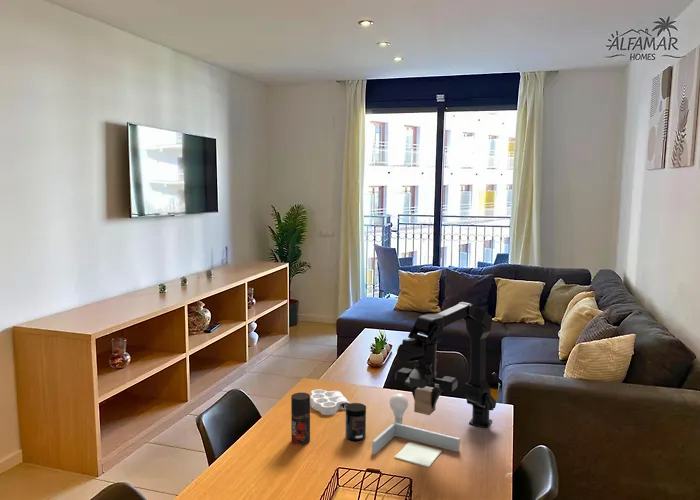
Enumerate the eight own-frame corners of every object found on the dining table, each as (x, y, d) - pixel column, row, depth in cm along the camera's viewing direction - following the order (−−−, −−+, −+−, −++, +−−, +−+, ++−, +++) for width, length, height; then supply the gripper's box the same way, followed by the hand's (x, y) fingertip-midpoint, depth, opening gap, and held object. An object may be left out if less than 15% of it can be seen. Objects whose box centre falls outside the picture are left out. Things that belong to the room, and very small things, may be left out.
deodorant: (313, 439, 168) (313, 394, 167) (304, 446, 163) (304, 400, 161) (297, 435, 171) (297, 391, 169) (288, 443, 165) (287, 397, 164)
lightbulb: (406, 429, 175) (407, 398, 174) (388, 427, 177) (388, 396, 175) (408, 421, 182) (409, 391, 180) (390, 420, 183) (390, 389, 182)
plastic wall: (393, 433, 172) (393, 422, 172) (459, 450, 161) (459, 438, 161) (372, 453, 159) (372, 441, 159) (442, 473, 148) (442, 460, 147)
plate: (409, 443, 166) (409, 441, 166) (441, 451, 160) (441, 450, 160) (394, 458, 156) (394, 456, 156) (428, 467, 151) (428, 466, 151)
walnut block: (420, 406, 165) (421, 385, 164) (435, 409, 162) (436, 388, 162) (414, 411, 161) (414, 389, 160) (429, 415, 158) (430, 393, 158)
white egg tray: (353, 412, 190) (315, 418, 185) (338, 394, 207) (302, 399, 202) (353, 403, 190) (315, 409, 185) (338, 386, 206) (302, 391, 201)
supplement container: (359, 431, 174) (360, 401, 173) (369, 440, 168) (370, 409, 167) (341, 435, 171) (341, 405, 170) (351, 444, 165) (351, 412, 164)
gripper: (388, 358, 158) (386, 408, 159) (446, 369, 148) (444, 422, 150) (403, 349, 167) (401, 396, 169) (459, 359, 158) (457, 409, 159)
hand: (424, 406), depth 161 cm, fingers closed on walnut block, 5 cm apart
